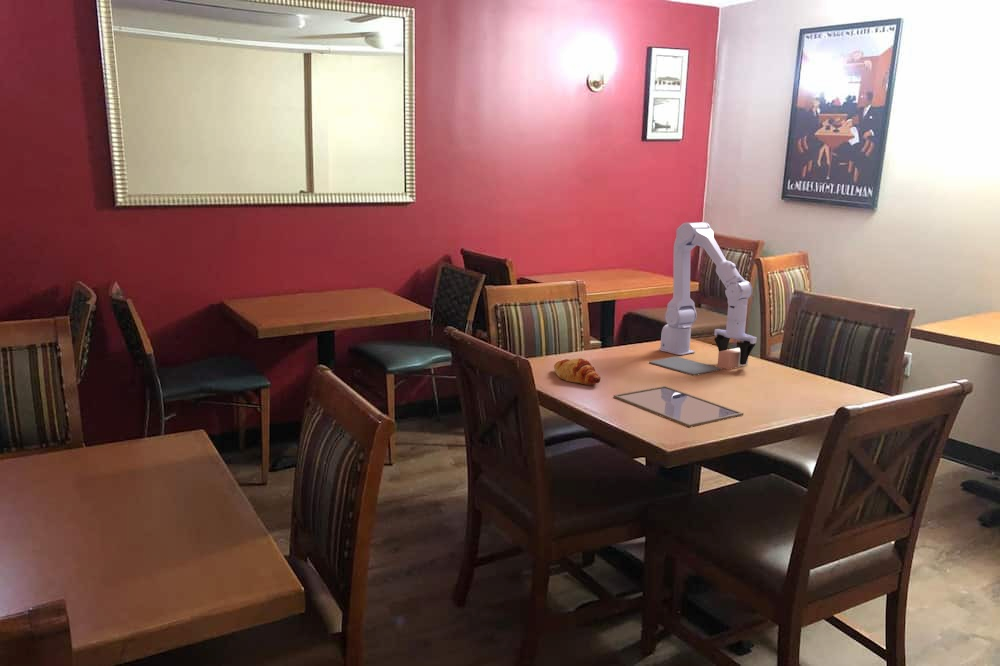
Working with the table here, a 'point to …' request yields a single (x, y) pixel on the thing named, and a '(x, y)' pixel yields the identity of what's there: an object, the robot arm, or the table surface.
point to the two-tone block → (730, 358)
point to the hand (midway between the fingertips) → (732, 361)
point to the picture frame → (678, 406)
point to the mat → (685, 365)
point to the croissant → (577, 371)
